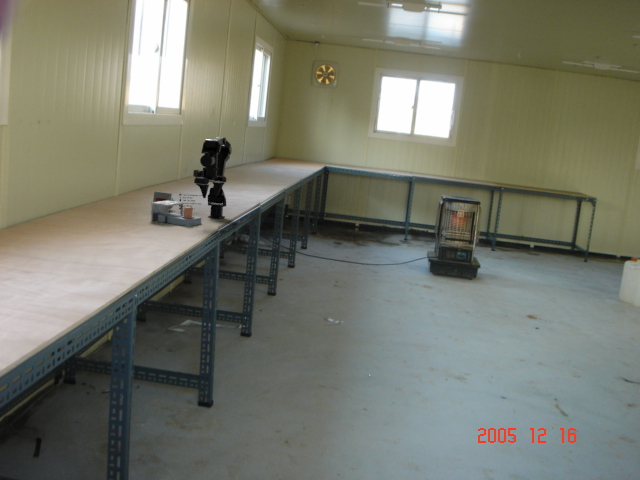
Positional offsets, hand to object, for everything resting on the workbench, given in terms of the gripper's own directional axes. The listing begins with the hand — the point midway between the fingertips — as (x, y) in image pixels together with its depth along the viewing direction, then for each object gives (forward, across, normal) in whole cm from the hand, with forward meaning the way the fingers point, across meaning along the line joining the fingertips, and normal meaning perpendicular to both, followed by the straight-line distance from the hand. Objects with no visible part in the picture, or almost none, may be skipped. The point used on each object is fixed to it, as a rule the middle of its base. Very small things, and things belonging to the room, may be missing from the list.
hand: (210, 197), depth 287 cm
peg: (+12, +12, -4) cm, 18 cm away
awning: (+12, +12, -17) cm, 24 cm away
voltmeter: (+13, -14, -32) cm, 37 cm away
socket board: (+12, +12, -9) cm, 19 cm away
